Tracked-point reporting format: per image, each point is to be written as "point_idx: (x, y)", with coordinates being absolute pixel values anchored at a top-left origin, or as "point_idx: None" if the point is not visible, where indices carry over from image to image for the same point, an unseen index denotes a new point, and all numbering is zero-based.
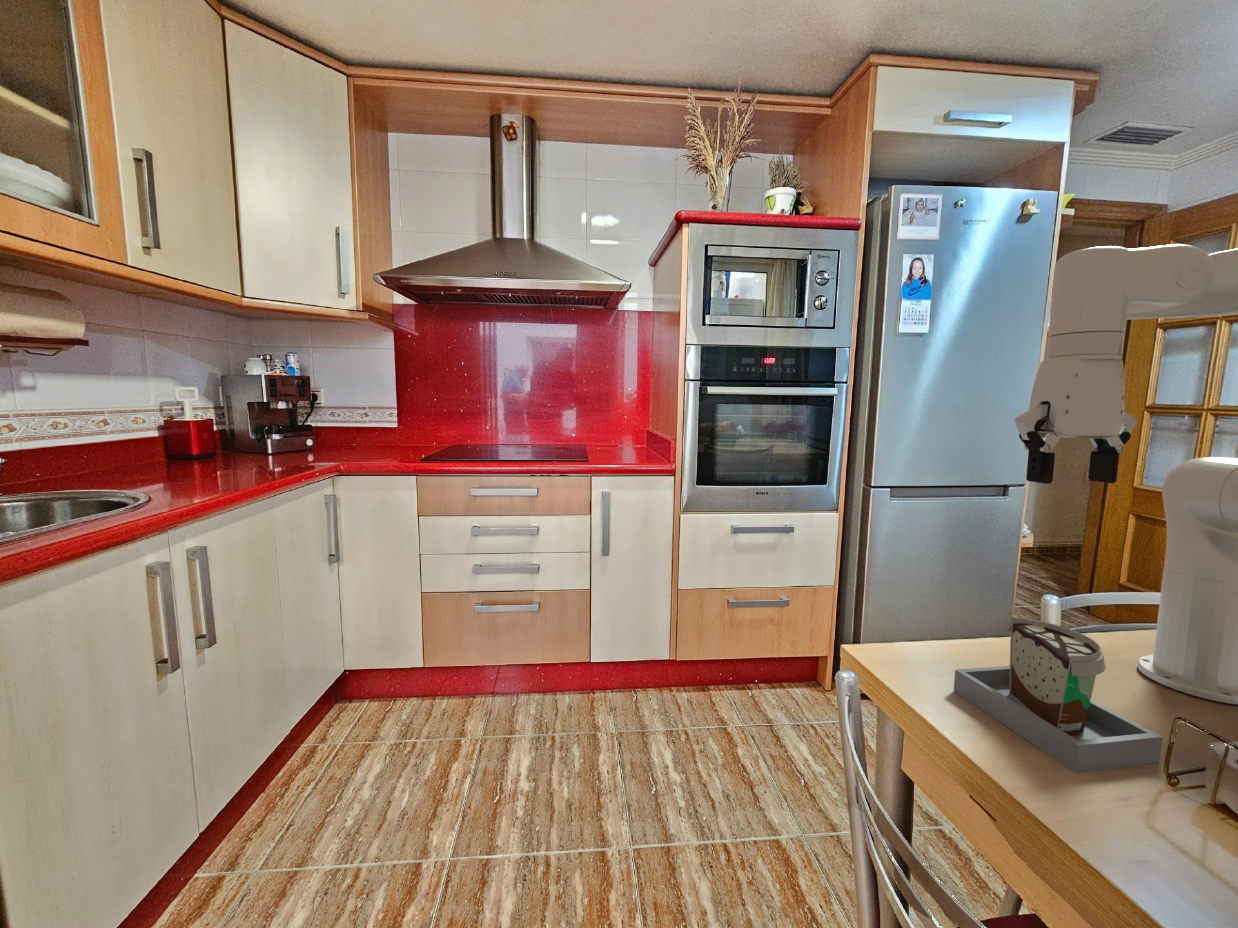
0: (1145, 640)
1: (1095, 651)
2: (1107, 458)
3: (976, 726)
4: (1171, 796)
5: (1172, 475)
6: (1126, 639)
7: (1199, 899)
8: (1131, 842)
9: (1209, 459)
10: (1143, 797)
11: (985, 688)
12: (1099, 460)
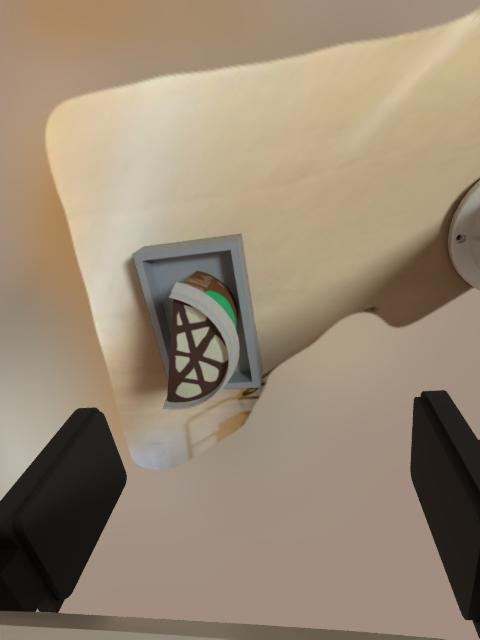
0: None
1: (219, 381)
2: (454, 568)
3: (132, 315)
4: (230, 404)
5: None
6: None
7: (166, 462)
8: (162, 432)
9: None
10: (207, 403)
11: (145, 299)
12: (451, 520)
